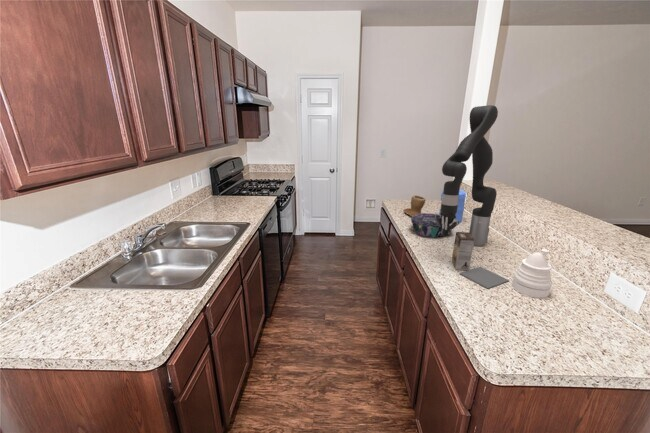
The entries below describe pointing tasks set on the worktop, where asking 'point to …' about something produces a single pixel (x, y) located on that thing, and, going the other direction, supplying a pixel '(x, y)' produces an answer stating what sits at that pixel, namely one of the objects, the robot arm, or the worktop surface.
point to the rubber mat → (484, 277)
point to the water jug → (459, 205)
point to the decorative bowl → (427, 225)
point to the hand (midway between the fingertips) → (445, 235)
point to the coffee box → (462, 250)
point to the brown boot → (415, 205)
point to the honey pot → (533, 276)
